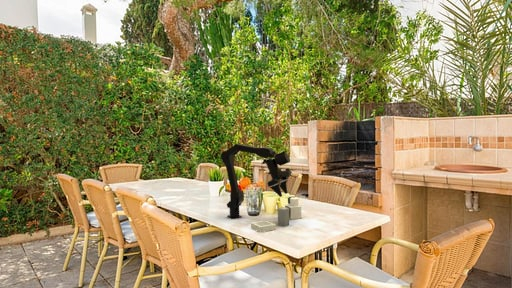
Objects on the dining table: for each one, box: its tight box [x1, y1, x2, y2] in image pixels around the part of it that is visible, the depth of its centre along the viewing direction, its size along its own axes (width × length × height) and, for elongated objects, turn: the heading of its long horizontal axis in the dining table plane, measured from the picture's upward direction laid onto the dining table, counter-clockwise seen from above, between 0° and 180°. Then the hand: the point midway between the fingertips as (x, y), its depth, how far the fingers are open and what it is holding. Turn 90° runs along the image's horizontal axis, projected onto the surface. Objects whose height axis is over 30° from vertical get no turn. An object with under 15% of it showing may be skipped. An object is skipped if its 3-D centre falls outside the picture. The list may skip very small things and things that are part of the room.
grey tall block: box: [277, 206, 290, 228], centre depth 187 cm, size 4×4×9 cm
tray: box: [250, 220, 277, 233], centre depth 181 cm, size 9×9×3 cm
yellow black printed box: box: [284, 196, 302, 220], centre depth 203 cm, size 7×7×12 cm
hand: (283, 195), depth 193 cm, fingers open, 9 cm apart
